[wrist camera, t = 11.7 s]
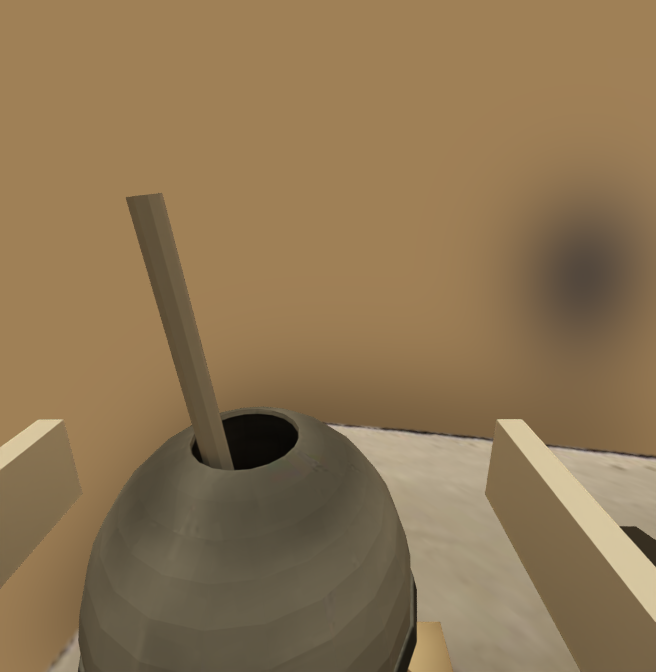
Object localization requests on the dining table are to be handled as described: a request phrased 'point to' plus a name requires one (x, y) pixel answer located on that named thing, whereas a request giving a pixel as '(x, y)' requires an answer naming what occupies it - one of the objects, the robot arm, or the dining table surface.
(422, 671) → the board
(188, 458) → the beverage cup
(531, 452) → the robot arm
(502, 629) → the dining table surface
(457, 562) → the dining table surface
